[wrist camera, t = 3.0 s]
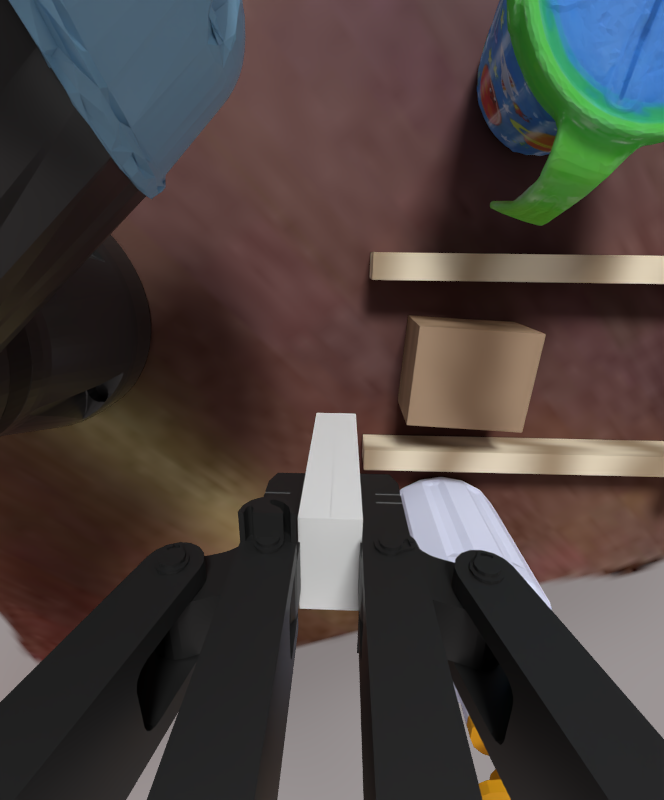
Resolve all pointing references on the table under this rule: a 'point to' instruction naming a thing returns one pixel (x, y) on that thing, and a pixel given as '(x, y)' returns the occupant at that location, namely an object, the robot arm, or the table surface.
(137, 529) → the table surface
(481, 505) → the soap bottle
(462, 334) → the block
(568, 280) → the lane
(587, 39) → the snack cup
